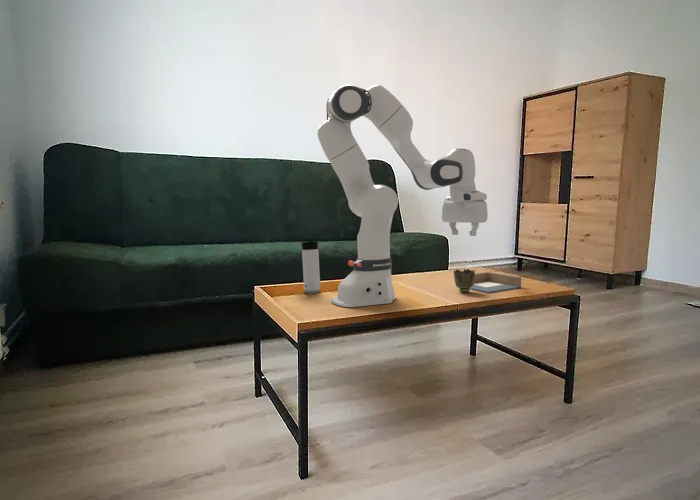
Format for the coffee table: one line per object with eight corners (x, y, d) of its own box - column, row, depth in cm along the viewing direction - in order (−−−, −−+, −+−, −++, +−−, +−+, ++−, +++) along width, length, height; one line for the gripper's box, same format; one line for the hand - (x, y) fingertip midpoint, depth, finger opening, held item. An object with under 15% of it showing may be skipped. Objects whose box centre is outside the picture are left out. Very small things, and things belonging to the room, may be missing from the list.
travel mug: (305, 294, 172) (302, 241, 170) (303, 291, 179) (300, 240, 177) (321, 293, 173) (319, 240, 171) (319, 290, 180) (316, 239, 178)
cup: (473, 290, 167) (473, 268, 166) (477, 294, 160) (476, 271, 159) (452, 290, 168) (452, 268, 167) (455, 294, 160) (454, 272, 160)
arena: (488, 293, 160) (488, 282, 160) (456, 286, 175) (456, 276, 175) (521, 287, 167) (521, 277, 167) (487, 281, 182) (487, 271, 182)
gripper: (437, 197, 168) (438, 234, 169) (475, 195, 150) (476, 237, 151) (450, 196, 171) (451, 233, 172) (490, 194, 153) (491, 235, 154)
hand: (463, 235), depth 162 cm, fingers open, 8 cm apart
